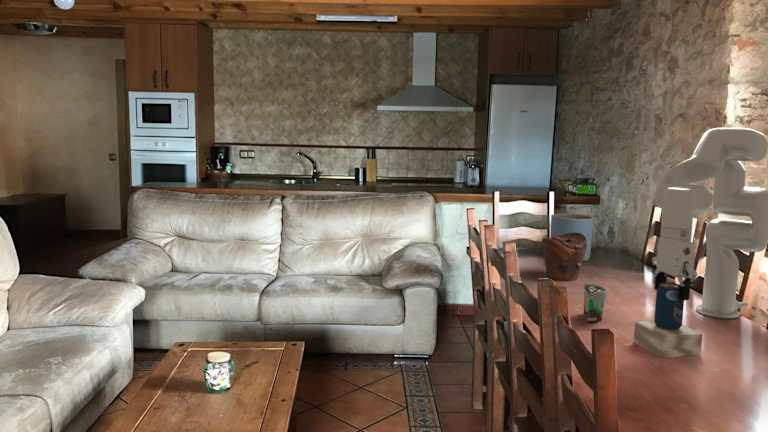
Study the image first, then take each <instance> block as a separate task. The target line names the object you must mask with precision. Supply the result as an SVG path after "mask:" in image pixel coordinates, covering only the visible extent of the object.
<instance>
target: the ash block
mask: <svg viewBox="0 0 768 432" xmlns="http://www.w3.org/2000/svg"><path fill="white" fill-rule="evenodd" d="M633 343H635V344H636V345H638V346H640V347H641V348H643V349H645V350H646V351H648V352H649V353H651V354H653V355H654V356H656V357H658V358H659V359H661V358H662V359H663V358H665V359H666V358H677V357H678V358H679V357H696V356H697V357H699V356H701V355H702V354H701V353H702V352H701V351H702V343H703V333H701V332H699V331H697V330H695V329H692V328H690V327H689V326H687V325H684V324H683V323H682V326H681V327H680V328H679V329H678V330H675V331H670V330H664V329H660V328H658V327H657V326H656V324H655V322H654V320H643V321H642V320H641V321H635V322H634V334H633Z"/></svg>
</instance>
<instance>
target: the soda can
mask: <svg viewBox="0 0 768 432" xmlns="http://www.w3.org/2000/svg"><path fill="white" fill-rule="evenodd" d="M679 285H680V283H676V282H675V283H674V282H669V281H668V282H667V281H666V282H664V283H660V286H659V287H658V288H657V290H656V294H655V308H654V320H653V321H654V322H655V324H656V326H657V327H658V328H660V329H664V330H670V331H675V330H678V329H679V328H680V327H681V326H682V324H683V318H684V308H685V307H684V305H685V304H684V303H685V300H681V301H679V300H677V294H678V286H679Z"/></svg>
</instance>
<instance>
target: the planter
mask: <svg viewBox="0 0 768 432" xmlns="http://www.w3.org/2000/svg"><path fill="white" fill-rule="evenodd" d="M594 218H595V217H594V216H592V215H587V214H581V213H580V214H578V213H553V214H551V216H550V238H552V237H555V236H559V235H563V234H567V233H580V234H582V235H584V236H585V237H586V239H587V250H586V252H585V255H584V259H583V262H584V261H586V262H589V259H590V257H591V249H592V240H593V230H594Z"/></svg>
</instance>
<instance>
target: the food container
mask: <svg viewBox="0 0 768 432" xmlns="http://www.w3.org/2000/svg"><path fill="white" fill-rule="evenodd" d="M607 298H608V292H607V290H606V288H605V287H603V286H601V285H598V284H594V283H593V284H592V283H584V296H583V313H582V314H583V316H584V318H585V321H586V323H587V324H596V323H600V322H602V321H603V313H604V307H605V300H606V299H607Z"/></svg>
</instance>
